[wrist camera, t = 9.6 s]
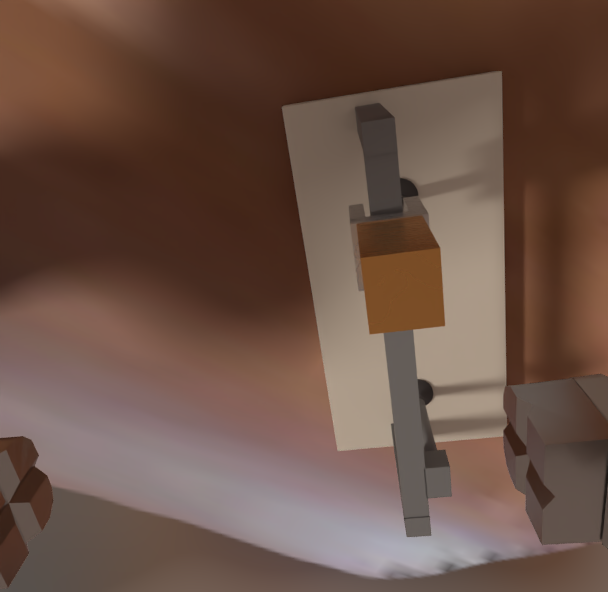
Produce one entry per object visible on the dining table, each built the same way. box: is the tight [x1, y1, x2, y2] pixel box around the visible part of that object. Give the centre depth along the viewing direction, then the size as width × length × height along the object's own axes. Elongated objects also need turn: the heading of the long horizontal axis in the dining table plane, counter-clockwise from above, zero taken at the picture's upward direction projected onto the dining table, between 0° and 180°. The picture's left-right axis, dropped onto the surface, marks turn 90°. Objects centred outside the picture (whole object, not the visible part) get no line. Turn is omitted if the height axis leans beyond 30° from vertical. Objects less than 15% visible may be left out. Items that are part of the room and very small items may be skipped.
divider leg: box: [349, 194, 445, 334], centre depth 30 cm, size 4×4×16 cm
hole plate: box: [282, 71, 507, 537], centre depth 36 cm, size 14×28×12 cm, turn 9°
